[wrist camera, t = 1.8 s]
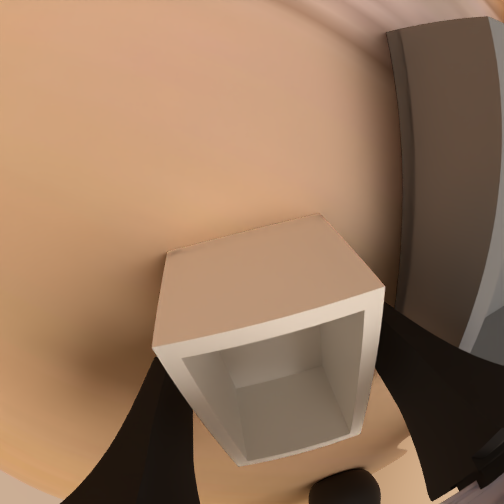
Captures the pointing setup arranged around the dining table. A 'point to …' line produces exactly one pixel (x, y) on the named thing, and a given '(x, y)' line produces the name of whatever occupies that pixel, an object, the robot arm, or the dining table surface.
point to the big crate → (452, 180)
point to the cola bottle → (346, 489)
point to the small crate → (271, 337)
